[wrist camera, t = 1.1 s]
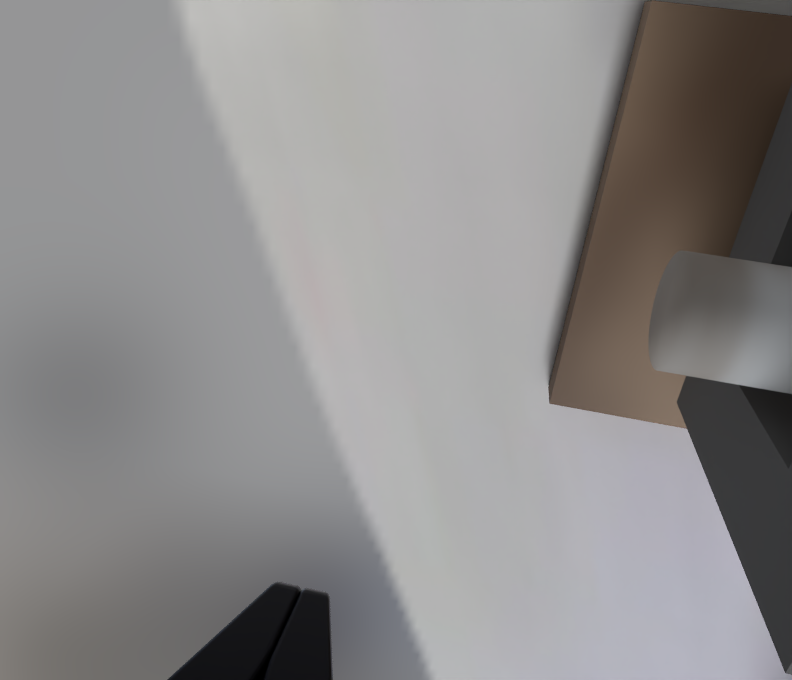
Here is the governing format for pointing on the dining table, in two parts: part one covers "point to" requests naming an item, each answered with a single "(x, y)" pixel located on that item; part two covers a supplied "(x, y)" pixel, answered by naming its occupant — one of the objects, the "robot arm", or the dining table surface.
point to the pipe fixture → (681, 222)
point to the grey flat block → (755, 418)
